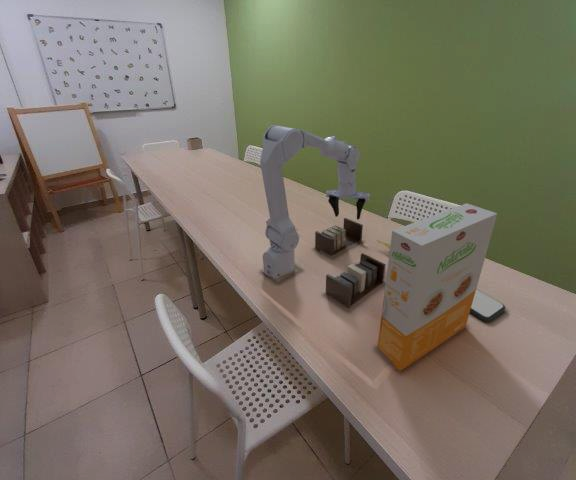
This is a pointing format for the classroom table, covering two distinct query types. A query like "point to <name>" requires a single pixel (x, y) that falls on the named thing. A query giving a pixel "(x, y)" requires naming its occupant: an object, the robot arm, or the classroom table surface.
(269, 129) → the robot arm
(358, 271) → the white book
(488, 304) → the phone case
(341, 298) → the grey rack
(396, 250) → the cereal box
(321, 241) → the dark brown rack
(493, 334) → the classroom table surface
